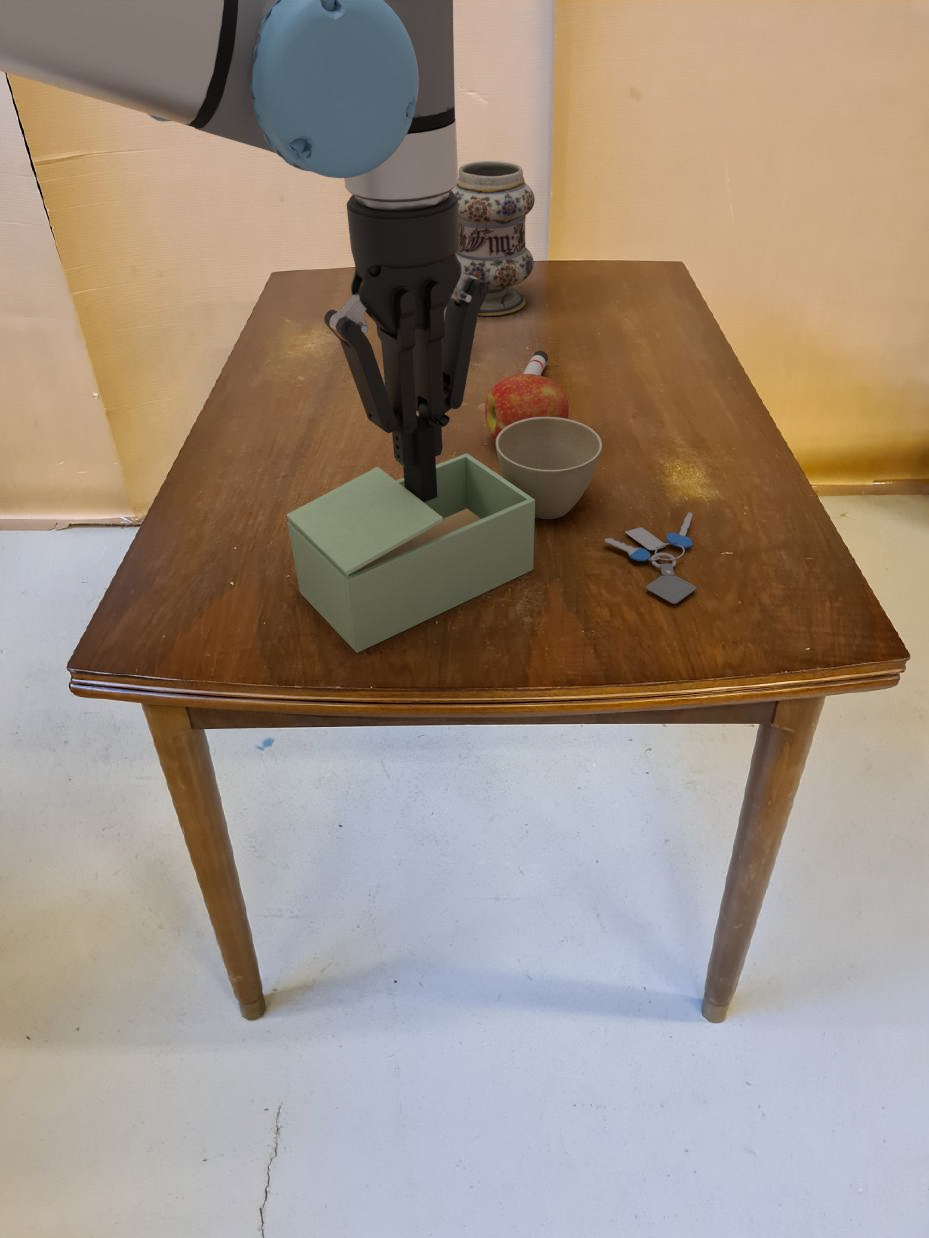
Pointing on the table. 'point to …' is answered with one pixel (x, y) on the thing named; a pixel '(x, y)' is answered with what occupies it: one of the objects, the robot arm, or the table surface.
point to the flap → (363, 519)
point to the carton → (426, 560)
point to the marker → (537, 363)
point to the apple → (523, 401)
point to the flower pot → (549, 461)
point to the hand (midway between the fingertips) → (421, 493)
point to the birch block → (430, 535)
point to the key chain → (667, 582)
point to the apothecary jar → (494, 231)
